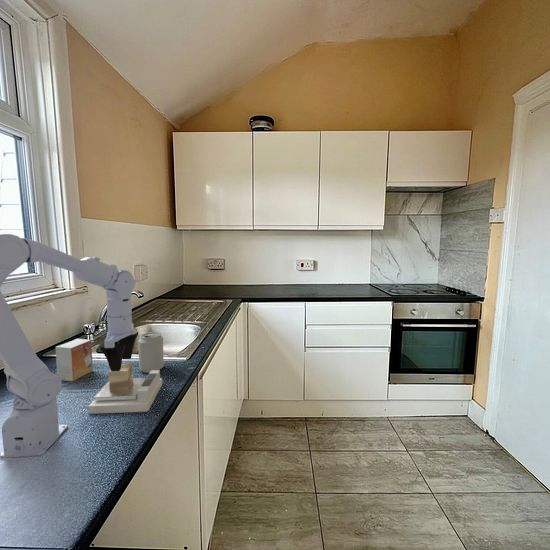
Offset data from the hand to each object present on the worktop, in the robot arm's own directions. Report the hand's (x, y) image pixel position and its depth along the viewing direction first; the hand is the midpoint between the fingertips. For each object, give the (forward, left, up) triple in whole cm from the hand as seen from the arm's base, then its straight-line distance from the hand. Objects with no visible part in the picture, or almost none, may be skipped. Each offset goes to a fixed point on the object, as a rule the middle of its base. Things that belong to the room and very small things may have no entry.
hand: (121, 364), depth 81 cm
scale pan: (0, 0, -7) cm, 7 cm away
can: (+18, -3, -10) cm, 21 cm away
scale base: (0, -2, -10) cm, 10 cm away
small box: (+15, +19, -10) cm, 27 cm away
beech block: (0, 0, -6) cm, 6 cm away
